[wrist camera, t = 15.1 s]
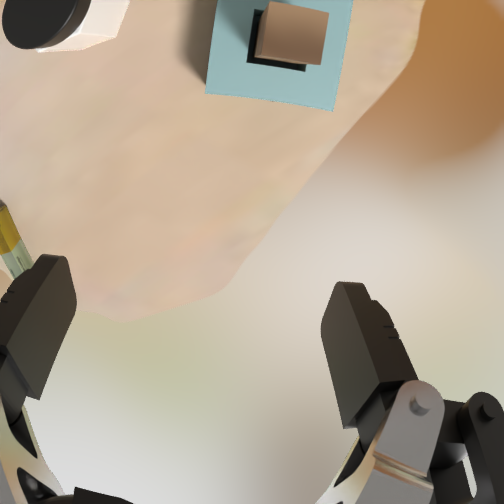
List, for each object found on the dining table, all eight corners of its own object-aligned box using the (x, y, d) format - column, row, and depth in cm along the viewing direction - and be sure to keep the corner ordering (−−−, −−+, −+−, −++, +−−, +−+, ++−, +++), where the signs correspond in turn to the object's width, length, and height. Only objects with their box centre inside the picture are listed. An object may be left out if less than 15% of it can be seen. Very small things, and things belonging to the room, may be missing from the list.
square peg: (257, 22, 26) (269, 1, 16) (297, 28, 26) (329, 12, 16) (252, 57, 28) (261, 54, 18) (291, 63, 29) (320, 65, 19)
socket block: (224, -14, 24) (222, -26, 20) (337, 5, 25) (353, -2, 21) (209, 89, 31) (205, 93, 26) (320, 104, 32) (333, 111, 28)
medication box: (39, 269, 43) (30, 285, 39) (27, 272, 43) (18, 288, 39) (6, 203, 36) (-7, 216, 32) (-6, 208, 36) (-18, 222, 32)
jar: (126, -29, 22) (81, -59, 12) (135, 32, 26) (90, 23, 16) (56, 0, 22) (-5, -9, 12) (65, 58, 27) (3, 66, 17)
